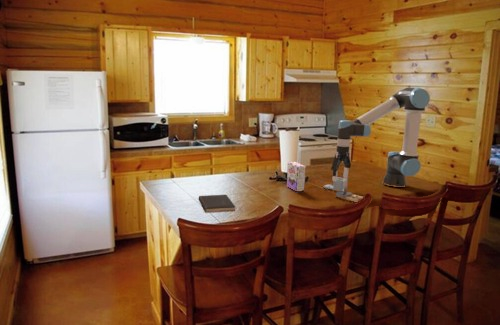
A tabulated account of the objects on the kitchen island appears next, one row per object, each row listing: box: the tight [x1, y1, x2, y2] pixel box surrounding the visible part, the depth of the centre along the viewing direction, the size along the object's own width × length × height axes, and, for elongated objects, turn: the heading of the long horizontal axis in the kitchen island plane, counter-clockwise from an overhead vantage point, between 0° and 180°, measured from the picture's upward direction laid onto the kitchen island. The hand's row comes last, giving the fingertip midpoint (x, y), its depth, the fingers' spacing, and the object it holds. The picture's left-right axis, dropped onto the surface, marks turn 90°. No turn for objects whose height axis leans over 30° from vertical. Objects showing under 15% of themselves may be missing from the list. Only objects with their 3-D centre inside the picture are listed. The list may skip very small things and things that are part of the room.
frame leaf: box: [346, 193, 364, 202], centre depth 232 cm, size 9×7×2 cm
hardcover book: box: [198, 194, 236, 212], centre depth 218 cm, size 16×23×2 cm
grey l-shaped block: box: [322, 176, 349, 191], centre depth 252 cm, size 6×13×8 cm, turn 48°
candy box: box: [286, 161, 306, 192], centre depth 251 cm, size 14×6×16 cm, turn 21°
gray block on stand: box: [335, 178, 354, 198], centre depth 236 cm, size 7×7×11 cm
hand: (340, 179), depth 249 cm, fingers open, 13 cm apart
